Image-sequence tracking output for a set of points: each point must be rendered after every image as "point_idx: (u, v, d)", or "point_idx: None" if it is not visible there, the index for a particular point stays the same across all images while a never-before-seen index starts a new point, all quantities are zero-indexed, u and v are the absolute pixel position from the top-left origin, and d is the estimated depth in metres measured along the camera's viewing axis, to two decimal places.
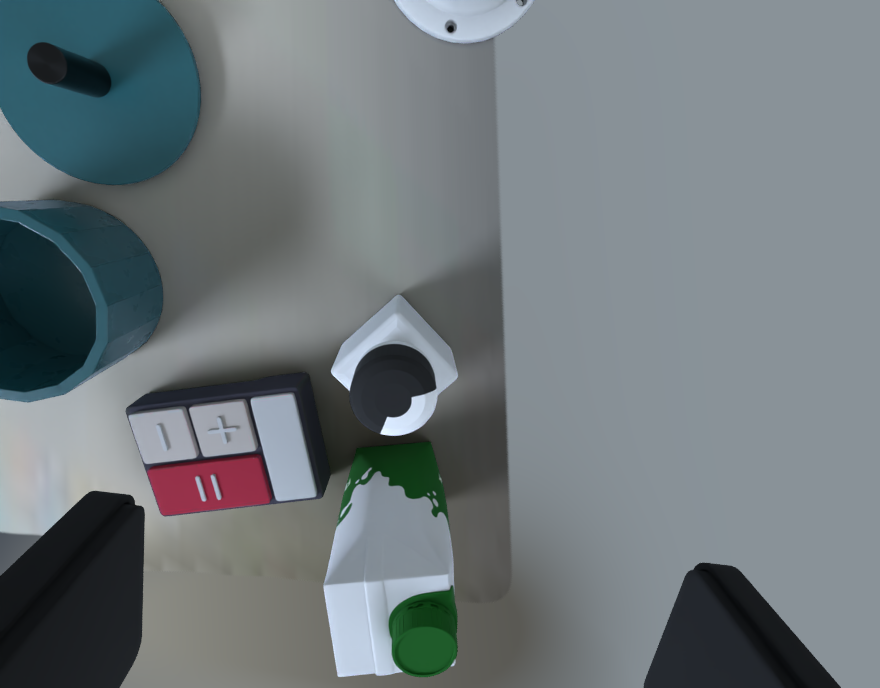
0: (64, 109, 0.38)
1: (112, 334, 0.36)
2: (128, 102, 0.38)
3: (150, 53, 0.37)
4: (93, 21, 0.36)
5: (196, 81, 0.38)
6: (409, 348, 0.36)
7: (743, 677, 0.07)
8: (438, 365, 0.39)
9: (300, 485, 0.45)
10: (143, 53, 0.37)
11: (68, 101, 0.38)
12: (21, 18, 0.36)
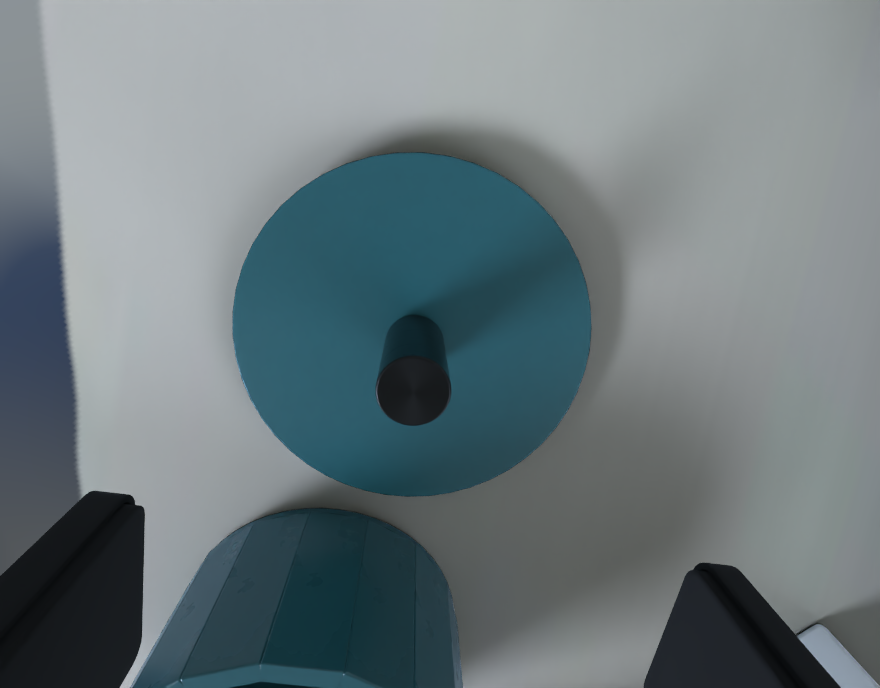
0: (354, 388, 0.21)
1: None
2: (465, 376, 0.21)
3: (519, 300, 0.21)
4: (429, 251, 0.20)
5: (588, 343, 0.21)
6: None
7: (743, 677, 0.07)
8: None
9: None
10: (507, 300, 0.21)
11: (363, 376, 0.21)
12: (302, 247, 0.20)
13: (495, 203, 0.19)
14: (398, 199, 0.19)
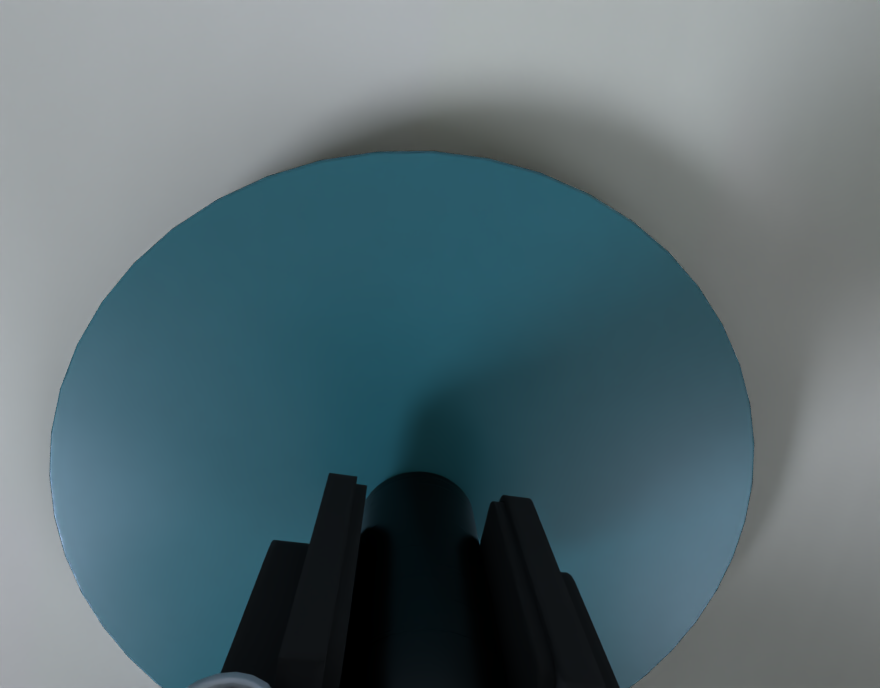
0: None
1: None
2: None
3: (620, 440, 0.11)
4: (446, 352, 0.10)
5: (744, 509, 0.11)
6: None
7: (502, 584, 0.08)
8: None
9: None
10: (597, 440, 0.10)
11: None
12: (184, 349, 0.09)
13: (582, 256, 0.09)
14: (381, 251, 0.09)
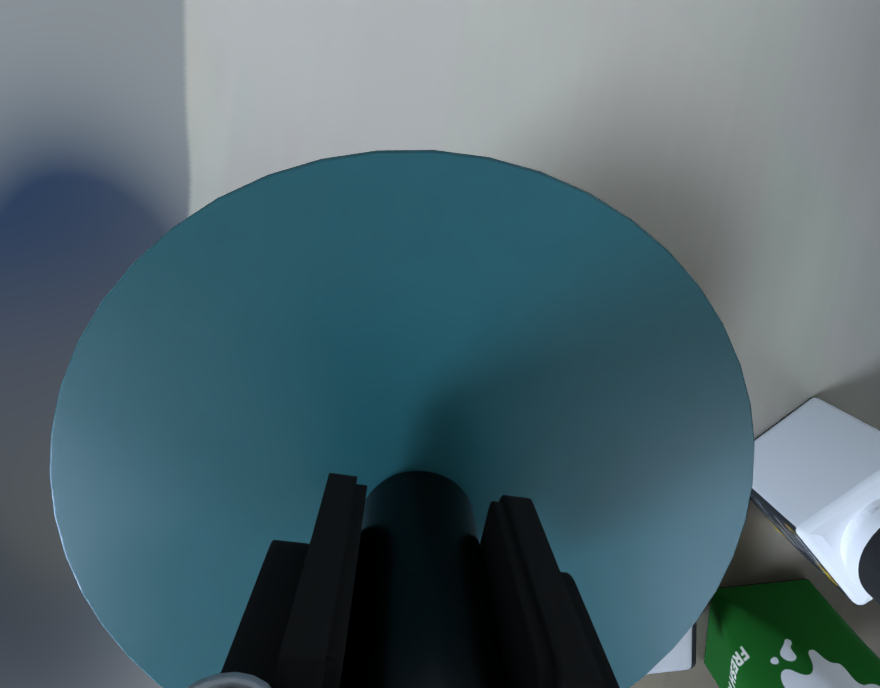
0: None
1: None
2: None
3: (620, 439, 0.11)
4: (446, 351, 0.10)
5: (744, 508, 0.11)
6: None
7: (502, 584, 0.08)
8: None
9: (672, 656, 0.33)
10: (598, 439, 0.10)
11: None
12: (184, 348, 0.09)
13: (583, 255, 0.09)
14: (382, 250, 0.09)
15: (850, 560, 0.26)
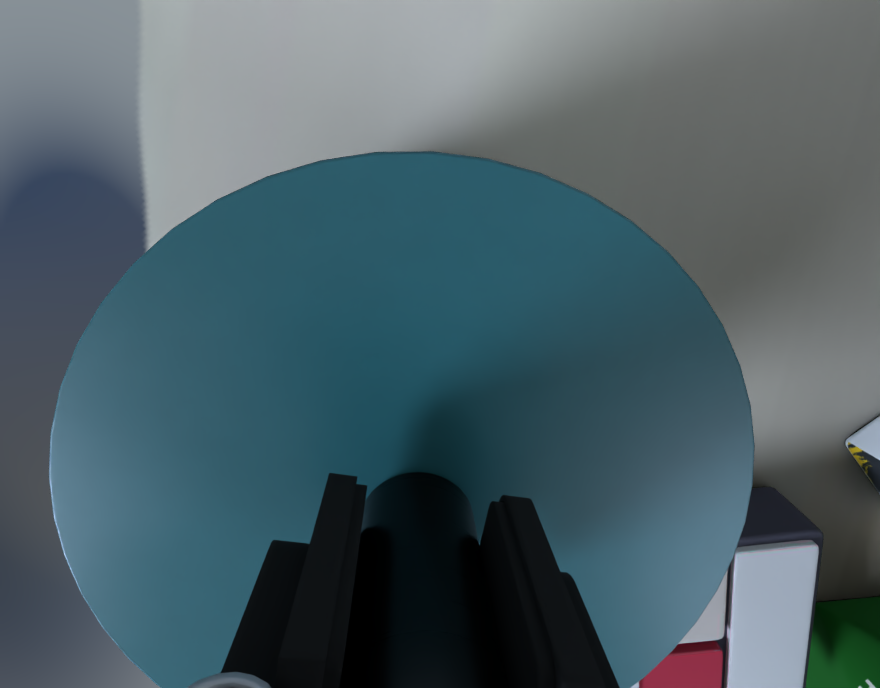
0: None
1: None
2: None
3: (620, 440, 0.11)
4: (446, 353, 0.10)
5: (744, 509, 0.11)
6: None
7: (501, 584, 0.08)
8: None
9: None
10: (598, 440, 0.10)
11: None
12: (184, 350, 0.09)
13: (582, 256, 0.09)
14: (381, 251, 0.09)
15: None
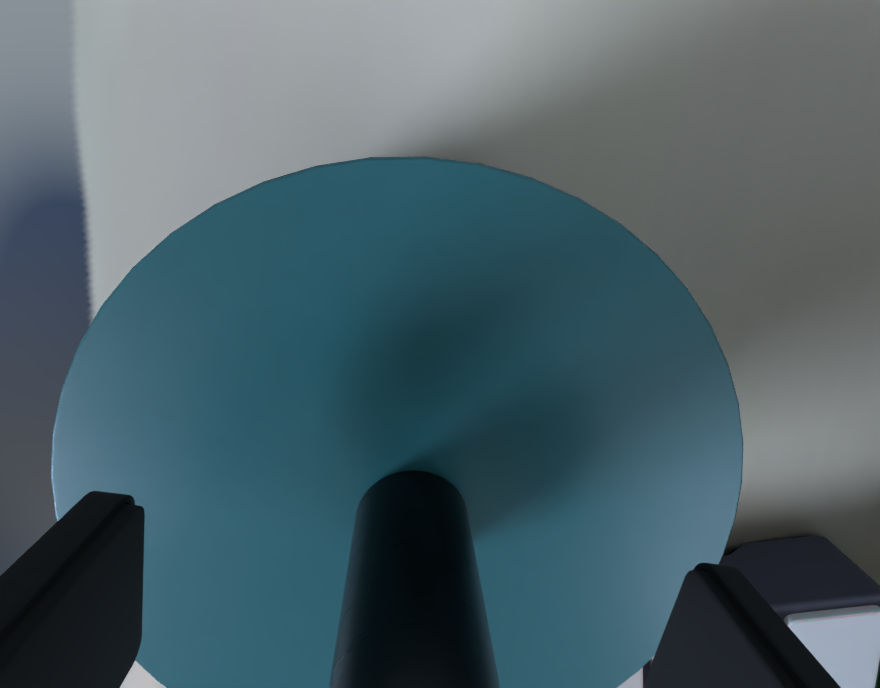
0: (300, 598, 0.11)
1: None
2: (507, 570, 0.12)
3: (611, 438, 0.11)
4: (440, 353, 0.10)
5: (733, 506, 0.11)
6: None
7: (743, 677, 0.07)
8: None
9: None
10: (589, 439, 0.11)
11: (316, 578, 0.11)
12: (182, 351, 0.10)
13: (573, 258, 0.10)
14: (376, 254, 0.09)
15: None
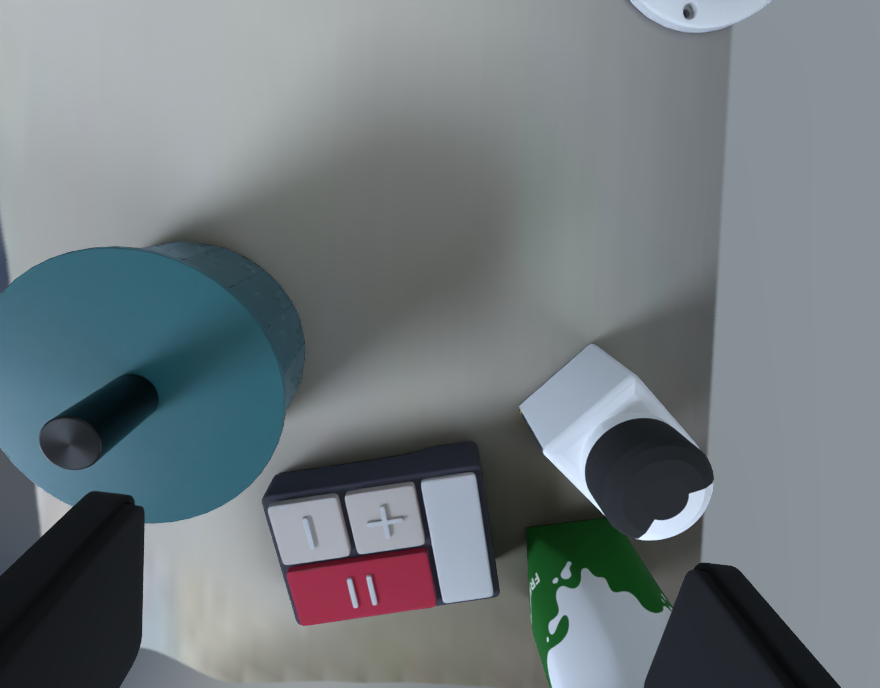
0: None
1: None
2: (183, 421, 0.26)
3: (215, 358, 0.25)
4: (132, 323, 0.24)
5: (281, 389, 0.26)
6: (664, 424, 0.28)
7: (743, 677, 0.07)
8: None
9: (474, 584, 0.36)
10: (206, 359, 0.25)
11: None
12: (25, 324, 0.24)
13: (180, 283, 0.24)
14: (98, 284, 0.24)
15: (582, 473, 0.29)
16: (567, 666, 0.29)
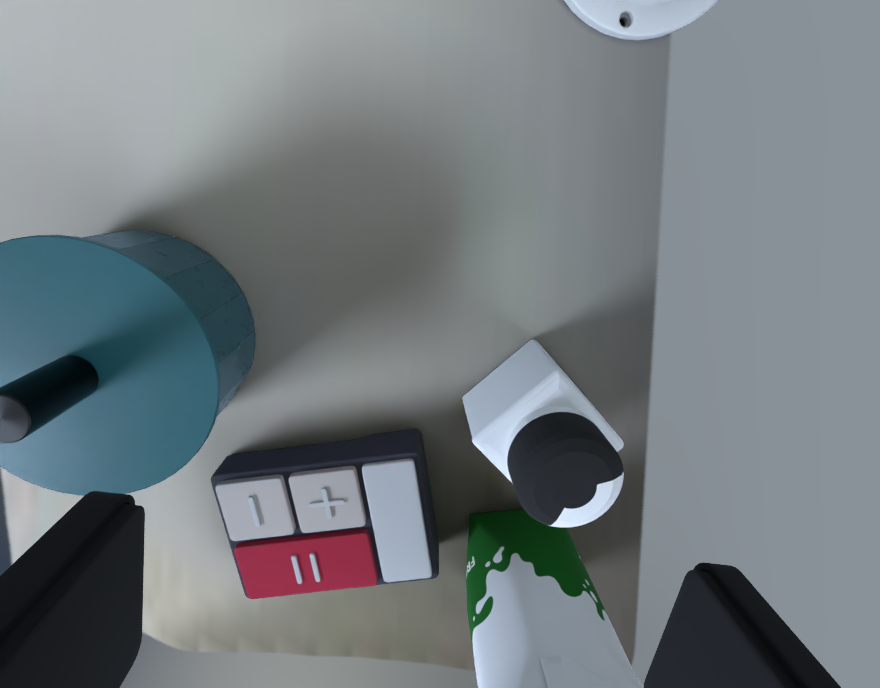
0: None
1: None
2: (122, 401, 0.28)
3: (152, 343, 0.27)
4: (72, 307, 0.26)
5: (215, 374, 0.27)
6: (582, 418, 0.29)
7: (743, 677, 0.07)
8: (603, 433, 0.32)
9: (413, 565, 0.38)
10: (142, 343, 0.27)
11: None
12: None
13: (116, 271, 0.26)
14: (39, 270, 0.25)
15: (506, 463, 0.31)
16: (485, 643, 0.31)
